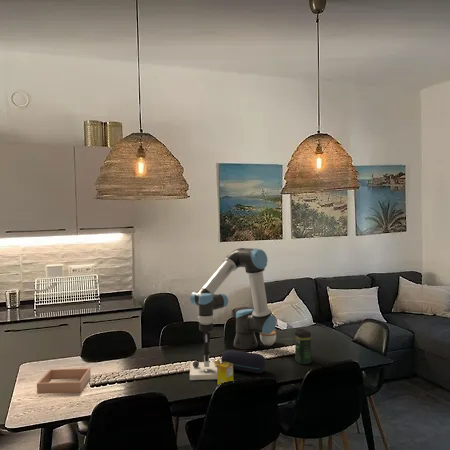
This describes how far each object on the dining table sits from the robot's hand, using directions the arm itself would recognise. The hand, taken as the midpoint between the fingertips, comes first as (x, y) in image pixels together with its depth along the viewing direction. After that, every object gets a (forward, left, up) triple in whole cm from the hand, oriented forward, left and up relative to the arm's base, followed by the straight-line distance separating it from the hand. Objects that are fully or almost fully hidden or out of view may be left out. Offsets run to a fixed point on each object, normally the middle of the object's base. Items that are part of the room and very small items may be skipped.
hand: (206, 366), depth 255 cm
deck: (0, 0, -4) cm, 4 cm away
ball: (0, +3, -2) cm, 4 cm away
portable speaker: (-20, -4, -4) cm, 21 cm away
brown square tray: (+72, +11, -4) cm, 73 cm away
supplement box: (-9, +18, -4) cm, 20 cm away
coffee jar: (-55, -14, -4) cm, 57 cm away
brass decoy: (-6, -4, 0) cm, 7 cm away
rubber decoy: (+6, -3, 0) cm, 7 cm away
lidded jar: (-40, -51, -4) cm, 65 cm away
